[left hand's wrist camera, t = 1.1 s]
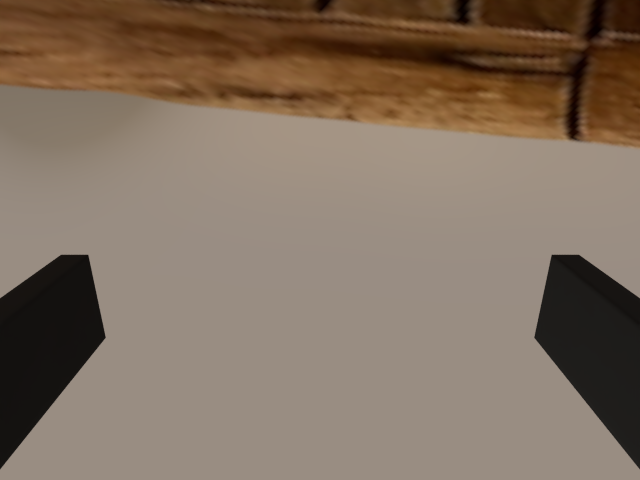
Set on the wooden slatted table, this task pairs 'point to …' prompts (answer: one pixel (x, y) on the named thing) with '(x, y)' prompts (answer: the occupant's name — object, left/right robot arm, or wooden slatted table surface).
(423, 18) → the wooden slatted table surface
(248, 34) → the wooden slatted table surface
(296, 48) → the wooden slatted table surface
